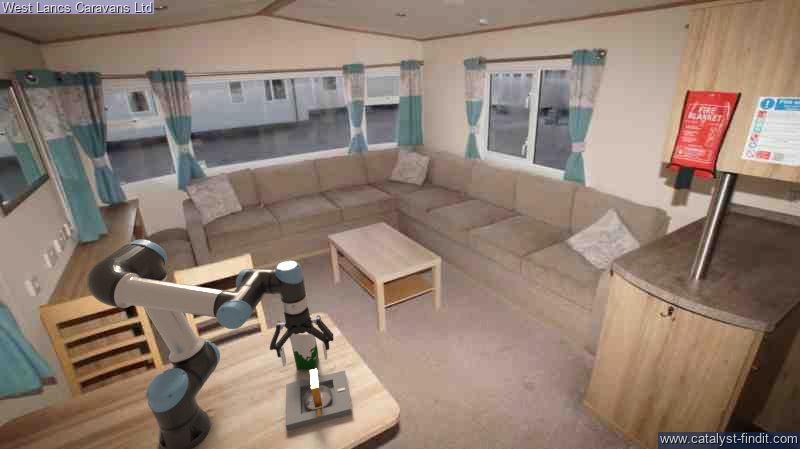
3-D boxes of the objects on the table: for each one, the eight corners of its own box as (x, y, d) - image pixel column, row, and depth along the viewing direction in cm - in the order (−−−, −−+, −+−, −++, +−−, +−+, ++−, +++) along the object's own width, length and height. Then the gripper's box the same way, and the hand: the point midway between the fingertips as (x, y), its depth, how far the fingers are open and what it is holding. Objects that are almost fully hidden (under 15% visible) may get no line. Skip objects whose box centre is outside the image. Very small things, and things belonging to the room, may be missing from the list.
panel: (286, 430, 127) (285, 424, 125) (287, 388, 143) (286, 383, 141) (352, 413, 131) (351, 407, 130) (345, 375, 147) (344, 369, 146)
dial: (303, 392, 140) (299, 370, 136) (330, 385, 142) (327, 364, 138) (304, 414, 131) (299, 392, 127) (333, 407, 133) (329, 385, 129)
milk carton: (299, 355, 158) (291, 316, 150) (321, 355, 158) (314, 316, 150) (294, 371, 150) (285, 331, 142) (316, 371, 150) (309, 331, 142)
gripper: (252, 321, 113) (265, 374, 122) (336, 309, 117) (343, 362, 125) (256, 306, 120) (268, 357, 129) (335, 295, 123) (342, 346, 132)
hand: (305, 360), depth 127 cm, fingers open, 13 cm apart
